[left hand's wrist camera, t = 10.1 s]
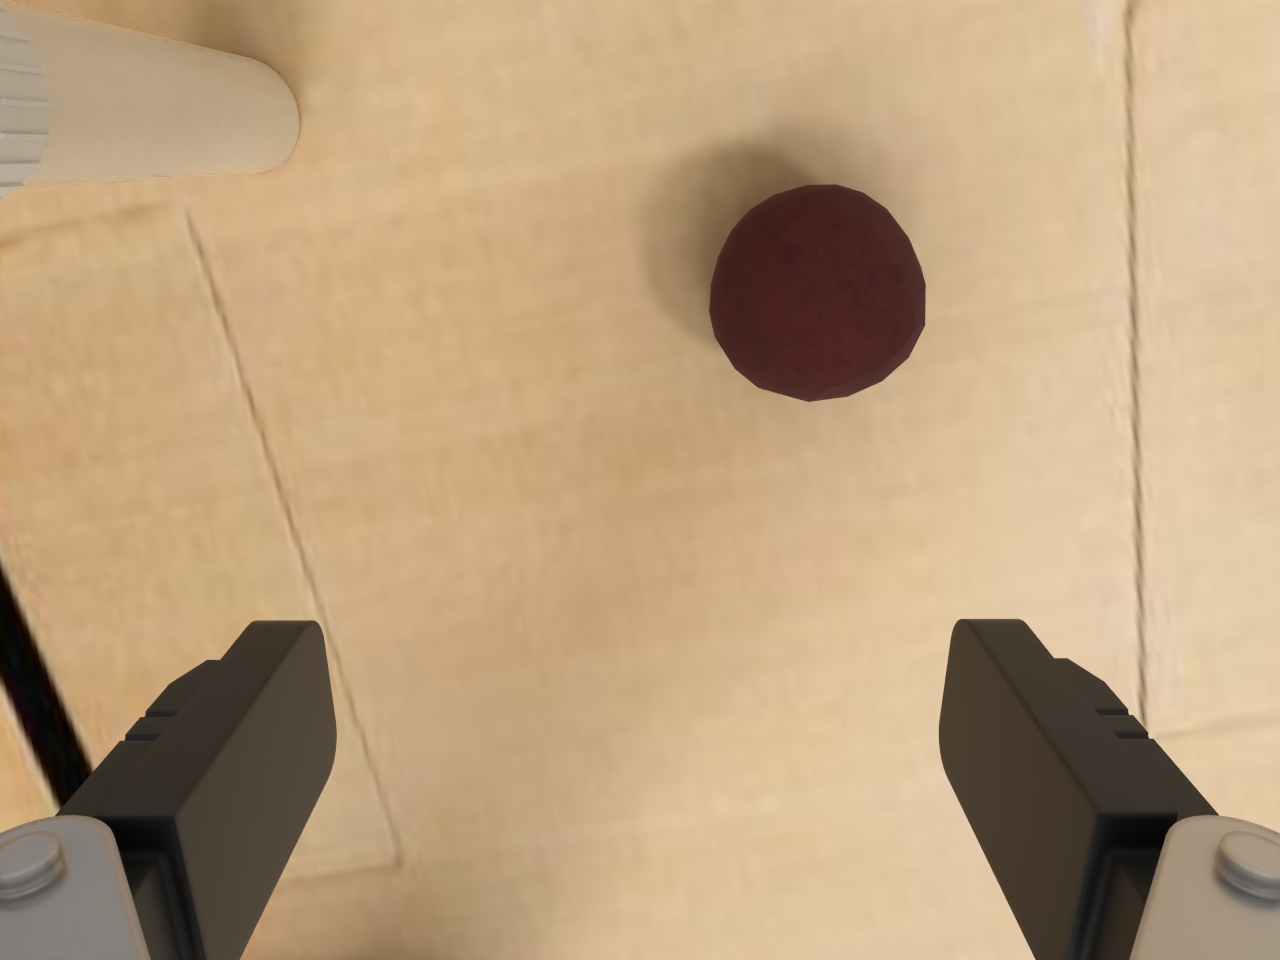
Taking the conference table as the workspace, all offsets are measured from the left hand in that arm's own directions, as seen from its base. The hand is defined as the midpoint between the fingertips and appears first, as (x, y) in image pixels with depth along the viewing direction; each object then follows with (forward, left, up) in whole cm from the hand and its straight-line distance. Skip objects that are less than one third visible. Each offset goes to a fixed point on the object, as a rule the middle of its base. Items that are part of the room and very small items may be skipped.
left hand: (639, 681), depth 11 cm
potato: (+6, -2, -26) cm, 27 cm away
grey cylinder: (-8, +14, -26) cm, 30 cm away
